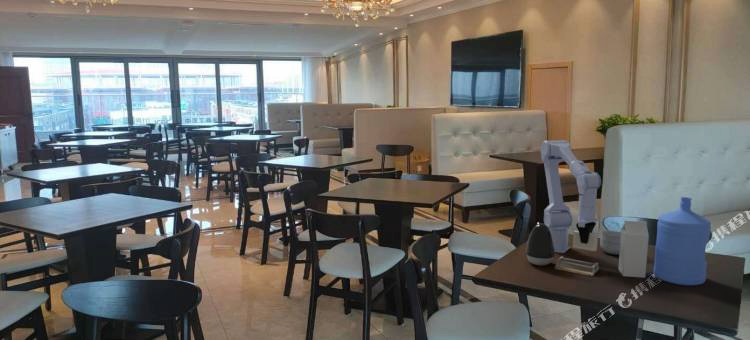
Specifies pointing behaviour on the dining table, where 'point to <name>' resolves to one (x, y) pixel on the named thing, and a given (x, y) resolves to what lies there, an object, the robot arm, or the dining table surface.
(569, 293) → the dining table surface
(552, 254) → the egg shaped speaker
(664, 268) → the water jug
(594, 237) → the door panel
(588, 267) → the door frame
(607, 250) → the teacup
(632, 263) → the milk carton
